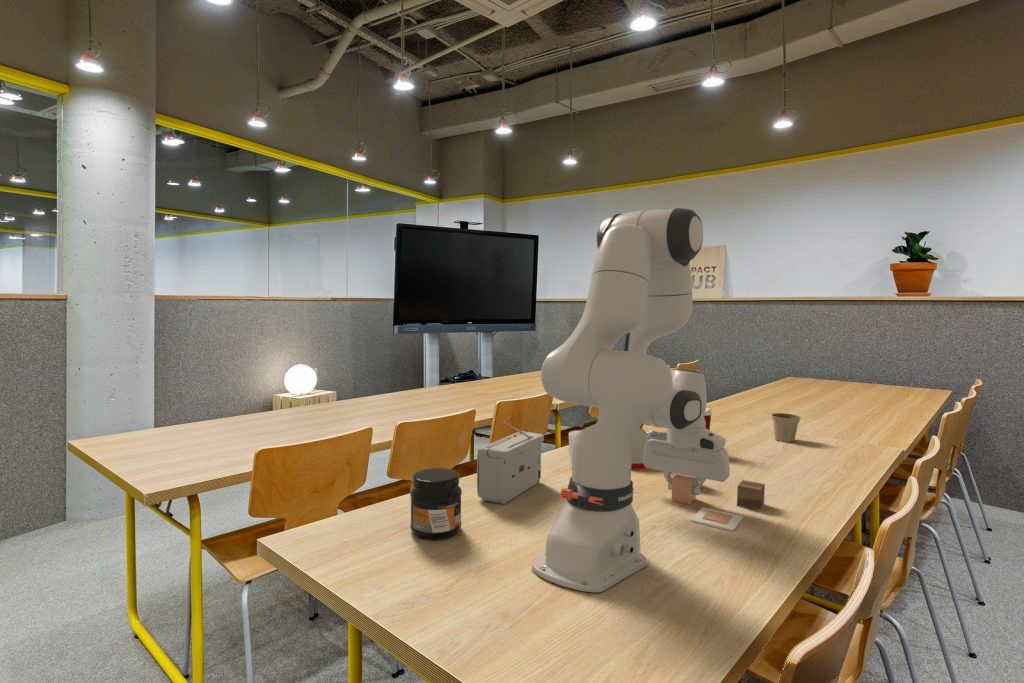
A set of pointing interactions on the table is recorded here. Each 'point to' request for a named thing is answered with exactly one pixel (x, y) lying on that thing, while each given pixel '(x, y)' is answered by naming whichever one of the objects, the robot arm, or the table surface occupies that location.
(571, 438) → the white cup
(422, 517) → the supplement container
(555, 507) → the table surface
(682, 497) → the salmon orange block
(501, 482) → the stereo radio cassette player
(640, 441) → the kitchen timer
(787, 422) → the flower pot
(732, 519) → the tile
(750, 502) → the walnut block
